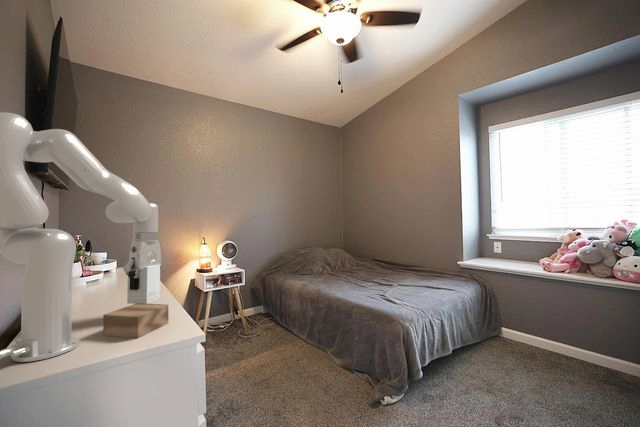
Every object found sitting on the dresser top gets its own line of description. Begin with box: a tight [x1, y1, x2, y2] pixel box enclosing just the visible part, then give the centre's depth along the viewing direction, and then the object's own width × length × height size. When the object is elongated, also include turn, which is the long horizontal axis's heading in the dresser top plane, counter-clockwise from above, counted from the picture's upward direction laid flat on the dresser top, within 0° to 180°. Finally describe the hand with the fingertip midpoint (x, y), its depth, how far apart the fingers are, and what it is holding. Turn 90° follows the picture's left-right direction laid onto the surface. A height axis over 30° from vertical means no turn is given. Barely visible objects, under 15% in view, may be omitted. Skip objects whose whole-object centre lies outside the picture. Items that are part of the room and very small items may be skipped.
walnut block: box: [102, 303, 169, 339], centre depth 89 cm, size 12×12×6 cm
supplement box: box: [126, 264, 161, 305], centre depth 102 cm, size 7×7×13 cm
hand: (144, 286), depth 102 cm, fingers closed on supplement box, 7 cm apart
